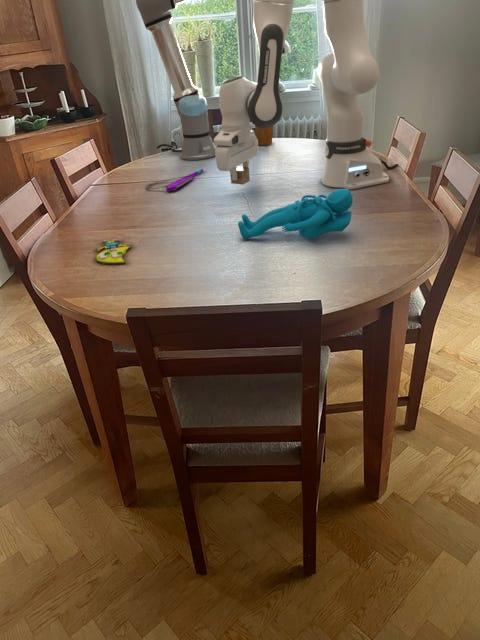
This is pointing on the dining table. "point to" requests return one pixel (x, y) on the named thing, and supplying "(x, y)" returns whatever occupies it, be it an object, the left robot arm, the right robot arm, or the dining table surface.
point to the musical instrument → (178, 181)
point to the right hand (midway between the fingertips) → (240, 177)
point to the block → (241, 176)
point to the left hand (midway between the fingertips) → (273, 55)
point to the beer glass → (264, 135)
